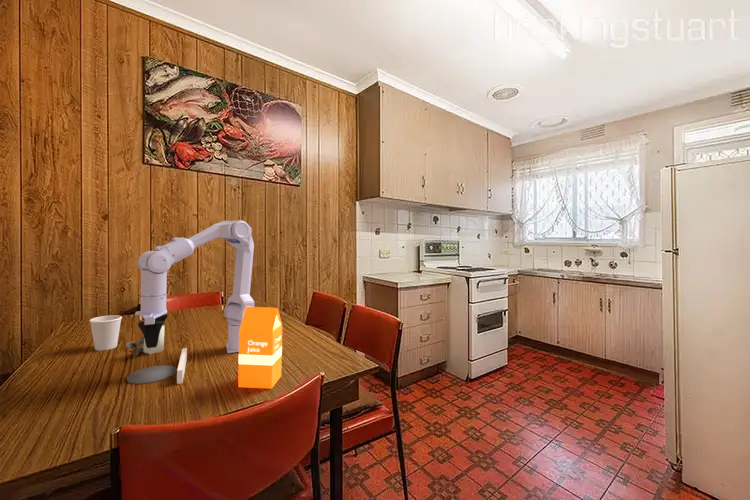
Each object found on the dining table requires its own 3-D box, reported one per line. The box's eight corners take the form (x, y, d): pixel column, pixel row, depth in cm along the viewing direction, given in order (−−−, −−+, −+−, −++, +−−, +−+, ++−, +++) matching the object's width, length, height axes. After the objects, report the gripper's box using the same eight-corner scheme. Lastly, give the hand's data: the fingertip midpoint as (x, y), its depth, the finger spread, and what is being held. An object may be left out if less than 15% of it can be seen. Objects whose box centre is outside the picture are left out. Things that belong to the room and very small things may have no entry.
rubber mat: (177, 364, 93) (177, 363, 93) (174, 379, 83) (174, 377, 83) (131, 370, 88) (131, 369, 88) (122, 387, 78) (122, 385, 78)
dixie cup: (126, 342, 110) (126, 314, 110) (115, 350, 102) (115, 320, 102) (97, 344, 108) (97, 315, 107) (83, 353, 100) (83, 322, 99)
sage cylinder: (164, 346, 88) (165, 324, 88) (162, 352, 84) (163, 328, 84) (145, 348, 86) (146, 325, 86) (142, 354, 82) (143, 329, 82)
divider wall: (186, 359, 97) (187, 348, 97) (182, 383, 81) (182, 369, 81) (182, 359, 96) (182, 348, 96) (176, 384, 81) (177, 370, 80)
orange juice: (250, 374, 88) (252, 303, 87) (281, 375, 87) (283, 304, 87) (237, 387, 80) (238, 310, 79) (271, 388, 80) (273, 311, 79)
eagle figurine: (149, 356, 96) (171, 341, 105) (135, 337, 95) (157, 324, 104) (132, 367, 97) (154, 351, 106) (117, 349, 96) (141, 335, 105)
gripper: (140, 291, 89) (140, 338, 90) (129, 300, 77) (129, 355, 77) (170, 290, 93) (169, 335, 93) (163, 299, 80) (163, 351, 80)
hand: (153, 344), depth 85 cm, fingers closed on sage cylinder, 4 cm apart
